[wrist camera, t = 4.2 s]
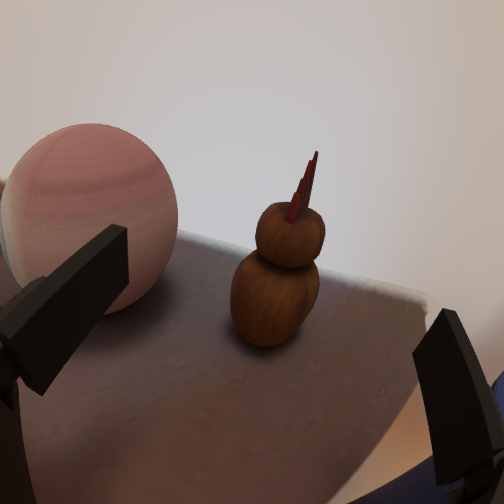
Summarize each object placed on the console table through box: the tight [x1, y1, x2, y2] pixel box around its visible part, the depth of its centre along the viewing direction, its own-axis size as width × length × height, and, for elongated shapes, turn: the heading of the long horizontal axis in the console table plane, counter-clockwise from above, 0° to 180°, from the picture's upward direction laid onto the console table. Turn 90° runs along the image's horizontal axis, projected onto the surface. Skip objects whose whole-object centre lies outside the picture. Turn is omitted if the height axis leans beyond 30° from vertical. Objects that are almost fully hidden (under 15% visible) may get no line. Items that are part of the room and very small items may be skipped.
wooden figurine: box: [230, 151, 325, 347], centre depth 21 cm, size 7×6×15 cm
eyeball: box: [0, 124, 178, 315], centre depth 21 cm, size 15×15×15 cm
